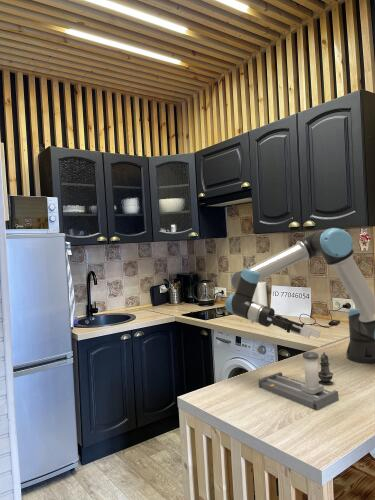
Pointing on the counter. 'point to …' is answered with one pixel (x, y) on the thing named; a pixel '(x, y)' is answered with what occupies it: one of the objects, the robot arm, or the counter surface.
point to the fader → (311, 373)
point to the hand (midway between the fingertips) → (315, 334)
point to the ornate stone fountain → (325, 371)
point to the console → (297, 391)
